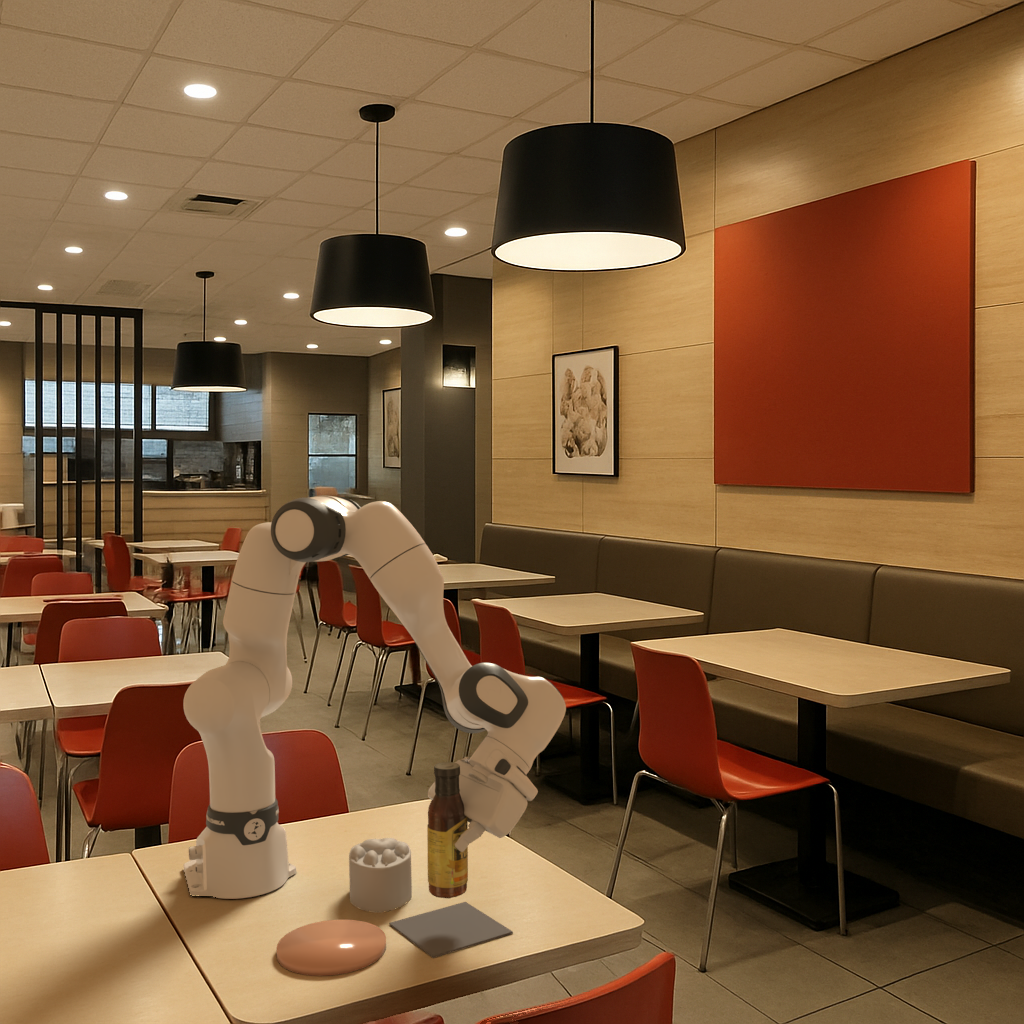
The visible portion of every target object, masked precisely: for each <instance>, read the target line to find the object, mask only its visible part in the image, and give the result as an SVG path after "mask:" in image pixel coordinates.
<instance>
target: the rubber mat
mask: <svg viewBox="0 0 1024 1024" xmlns="http://www.w3.org/2000/svg"><path fill="white" fill-rule="evenodd" d="M389 926H390V927H391V928H393V929H394V930H395V931H397V932H398V933H399V934H401V935H402V936H404V937H405V938H406V939H408V940H409V941H410V942H411V943H413V944H414V945H415V946H417V947H418V948H419V949H420V950H421V951H423V952H425V953H426V954H427V955H428V956H430V957H431V958H433V959H434V958H438V957H440V956H444V955H449V954H450V953H454V952H456V951H461V950H464V949H467V948H470V947H473V946H476V945H480V944H483V943H487V942H490V941H492V940H496V939H499V938H503V937H505V936H509V935H512V934H513V933H514V932H513V930H511V929H510V928H508V927H506V926H505V925H503V924H502V923H500V922H498V921H497V920H496V919H494V918H492V917H490V916H489V915H487V914H485V913H484V912H483V911H481V910H479V909H478V908H476V907H475V906H473V905H472V904H470V903H469V902H468V901H463V902H459V903H455V904H452V905H448V906H445V907H440V908H438V909H434V910H430V911H426V912H423V913H419V914H416V915H411V916H409V917H406V918H402V919H398V920H395V921H390V922H389Z"/></svg>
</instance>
